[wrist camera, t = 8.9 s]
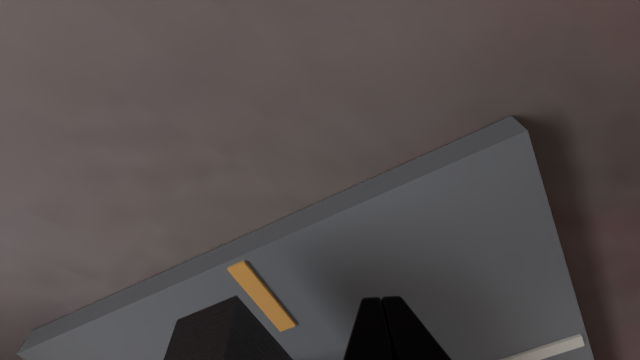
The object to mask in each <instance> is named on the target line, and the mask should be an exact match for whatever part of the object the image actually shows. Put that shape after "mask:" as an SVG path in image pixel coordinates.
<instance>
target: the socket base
mask: <svg viewBox="0 0 640 360" xmlns="http://www.w3.org/2000/svg"><path fill="white" fill-rule="evenodd" d="M236 295H237V296H238V297H239V298H240V300H241V301H242V302H243V303H244V304H245V305H246V306H247V308H248V309H249V310H250V311H251V312H252V313H253V314H254V316H255V317H256V318H257V319H258V320H259V321H260V322H261V324H262V325H263V326H264V327H265V328H266V329H267V330H268V332H269V333H270V334H271V335H272V336H273V337H274V338H275V340H276V341H277V342H278V343H279V344H280V345H281V346H282V348H283V349H284V350H285V351H286V352H287V353H288V354H289V355H290V357H291V358H292V359H293V360H343V358H344V355H345V351H346V348H347V345H348V341H349V338H350V335H351V332H352V328H353V325H354V322H355V318H356V315H357V312H358V309H359V305H360V302H361V300H362V298H364V297H380V298H381V299H382V297H384V296H401V297H402V298H403V299H404V301H405V302H406V303H407V304H408V306H409V307H410V308H411V309H412V311H413V312H414V313H415V314H416V316H417V317H418V318H419V319H420V321H421V322H422V323H423V324H424V326H425V327H426V328H427V329H428V331H429V332H430V333H431V334H432V336H433V337H434V338H435V339H436V341H437V342H438V343H439V344H440V346H441V347H442V348H443V349H444V351H445V352H446V353H447V354H448V356H449V357H450V358H451V359H452V360H594V358H593V354H592V351H591V347H590V344H589V340H588V337H587V333H586V330H585V326H584V323H583V320H582V316H581V313H580V309H579V306H578V302H577V299H576V295H575V292H574V289H573V285H572V282H571V278H570V275H569V271H568V268H567V264H566V261H565V257H564V254H563V251H562V247H561V244H560V240H559V237H558V233H557V230H556V226H555V223H554V220H553V216H552V213H551V209H550V206H549V202H548V199H547V195H546V192H545V188H544V185H543V182H542V178H541V175H540V171H539V168H538V164H537V161H536V157H535V154H534V150H533V147H532V144H531V140H530V137H529V133H528V130H527V129H526V128H525V127H523V126H522V125H521V124H520V123H519V122H518V121H517V120H516V119H515V118H513V117H512V116H509V117H507V118H505V119H503V120H501V121H498V122H496V123H494V124H492V125H489V126H487V127H485V128H483V129H480V130H478V131H476V132H474V133H472V134H469V135H467V136H465V137H463V138H460V139H458V140H456V141H454V142H452V143H449V144H447V145H445V146H443V147H440V148H438V149H436V150H434V151H431V152H429V153H427V154H425V155H423V156H420V157H418V158H416V159H414V160H411V161H409V162H407V163H405V164H403V165H400V166H398V167H396V168H394V169H391V170H389V171H387V172H385V173H382V174H380V175H378V176H376V177H374V178H371V179H369V180H367V181H365V182H362V183H360V184H358V185H356V186H354V187H351V188H349V189H347V190H345V191H342V192H340V193H338V194H336V195H333V196H331V197H329V198H327V199H325V200H322V201H320V202H318V203H316V204H313V205H311V206H309V207H307V208H305V209H302V210H300V211H298V212H296V213H293V214H291V215H289V216H287V217H284V218H282V219H280V220H278V221H276V222H273V223H271V224H269V225H267V226H264V227H262V228H260V229H258V230H256V231H253V232H251V233H249V234H247V235H244V236H242V237H240V238H238V239H235V240H233V241H231V242H229V243H227V244H224V245H222V246H220V247H218V248H215V249H213V250H211V251H209V252H207V253H204V254H202V255H200V256H198V257H195V258H193V259H191V260H189V261H186V262H184V263H182V264H180V265H178V266H175V267H173V268H171V269H169V270H166V271H164V272H162V273H160V274H158V275H155V276H153V277H151V278H149V279H146V280H144V281H142V282H140V283H137V284H135V285H133V286H131V287H129V288H126V289H124V290H122V291H120V292H117V293H115V294H113V295H111V296H109V297H106V298H104V299H102V300H100V301H97V302H95V303H93V304H91V305H89V306H86V307H84V308H82V309H80V310H77V311H75V312H73V313H71V314H68V315H66V316H64V317H62V318H60V319H57V320H55V321H53V322H51V323H48V324H46V325H44V326H42V327H40V328H37V329H35V330H33V331H32V332H31V333H30V335H29V336H28V338H27V339H26V341H25V342H24V343H23V345H22V346H21V348H20V349H19V351H18V352H17V353H16V354H17V355H18V356H20V357H21V358H22V359H24V360H163V359H164V357H165V354H166V351H167V348H168V345H169V342H170V339H171V336H172V333H173V330H174V327H175V325H176V322H177V320H178V319H180V318H183V317H185V316H188V315H190V314H192V313H195V312H197V311H200V310H202V309H204V308H207V307H209V306H212V305H214V304H217V303H219V302H221V301H224V300H226V299H229V298H231V297H233V296H236Z"/></svg>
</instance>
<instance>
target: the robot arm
mask: <svg viewBox="0 0 640 360" xmlns="http://www.w3.org/2000/svg"><path fill="white" fill-rule="evenodd" d="M343 360H452V359H451V358H450V357H449V356H448V354H447V353H446V352H445V351H444V349H443V348H442V347H441V346H440V344H439V343H438V342H437V341H436V339H435V338H434V337H433V336H432V334H431V333H430V332H429V331H428V329H427V328H426V327H425V326H424V324H423V323H422V322H421V321H420V319H419V318H418V317H417V316H416V314H415V313H414V312H413V311H412V309H411V308H410V307H409V306H408V304H407V303H406V302H405V301H404V299H403V298H402V297H401V296H384V297H382V299H381V298H380V297H364V298H362V300H361V302H360V305H359V309H358V312H357V315H356V318H355V322H354V325H353V328H352V332H351V335H350V338H349V341H348V345H347V348H346V351H345V355H344V358H343Z"/></svg>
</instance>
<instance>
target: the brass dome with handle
mask: <svg viewBox="0 0 640 360" xmlns="http://www.w3.org/2000/svg"><path fill="white" fill-rule="evenodd" d="M163 360H293V359H292V358H291V357H290V355H289V354H288V353H287V352H286V351H285V350H284V349H283V348H282V346H281V345H280V344H279V343H278V342H277V341H276V340H275V338H274V337H273V336H272V335H271V334H270V333H269V332H268V330H267V329H266V328H265V327H264V326H263V325H262V324H261V322H260V321H259V320H258V319H257V318H256V317H255V316H254V314H253V313H252V312H251V311H250V310H249V309H248V308H247V306H246V305H245V304H244V303H243V302H242V301H241V300H240V298H239V297H238V296H237V295H236V296H233V297H231V298H229V299H226V300H224V301H221V302H219V303H217V304H214V305H212V306H209V307H207V308H204V309H202V310H200V311H197V312H195V313H192V314H190V315H188V316H185V317H183V318H180V319H178V320H177V322H176V325H175V327H174V330H173V333H172V336H171V339H170V342H169V345H168V348H167V351H166V354H165V357H164V359H163Z"/></svg>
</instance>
